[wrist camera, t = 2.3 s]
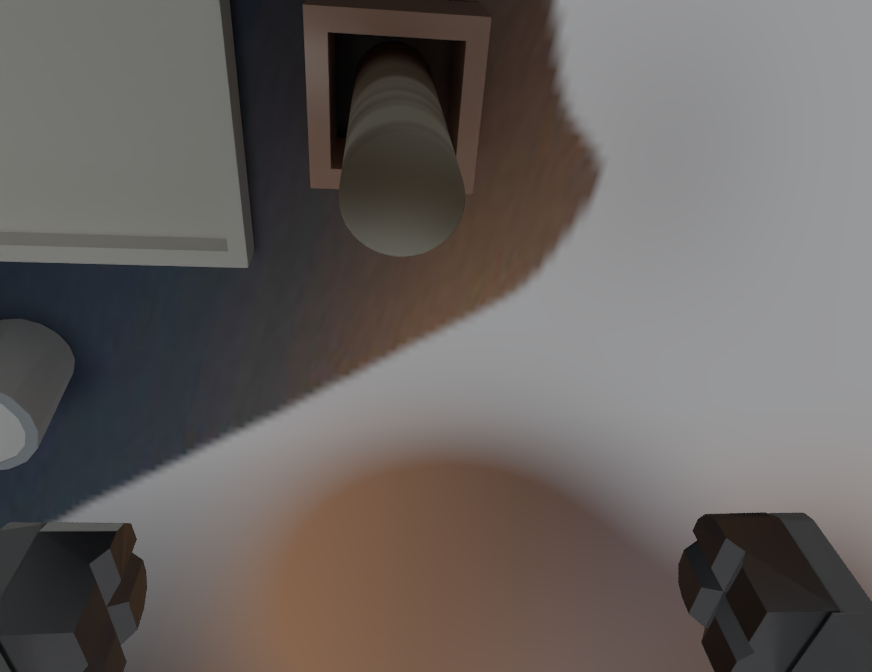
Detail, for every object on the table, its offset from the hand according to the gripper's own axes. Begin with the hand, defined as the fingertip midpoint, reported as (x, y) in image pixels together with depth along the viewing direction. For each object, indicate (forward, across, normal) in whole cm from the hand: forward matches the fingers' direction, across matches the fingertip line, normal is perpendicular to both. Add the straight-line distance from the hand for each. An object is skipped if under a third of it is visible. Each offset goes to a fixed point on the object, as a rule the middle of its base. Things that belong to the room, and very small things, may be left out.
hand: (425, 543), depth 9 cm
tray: (+29, +16, +1) cm, 33 cm away
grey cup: (+29, +23, +18) cm, 41 cm away
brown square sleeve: (+29, 0, 0) cm, 29 cm away
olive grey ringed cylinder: (+29, 0, 0) cm, 29 cm away
